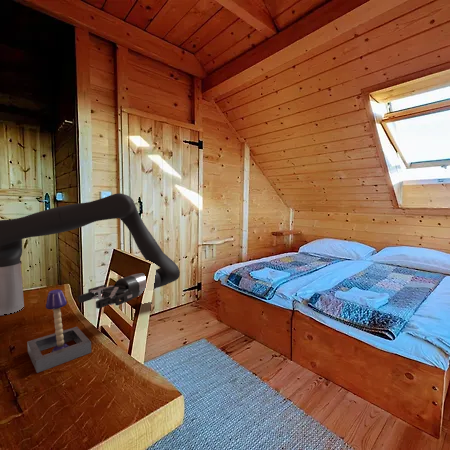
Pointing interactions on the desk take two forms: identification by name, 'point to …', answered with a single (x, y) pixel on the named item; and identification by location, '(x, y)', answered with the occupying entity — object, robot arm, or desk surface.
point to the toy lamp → (57, 315)
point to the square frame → (60, 355)
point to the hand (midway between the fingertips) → (87, 302)
